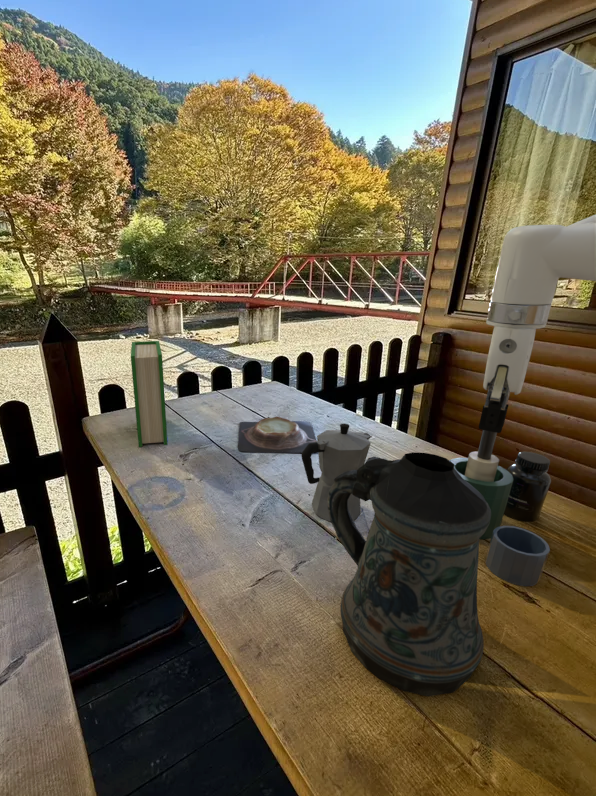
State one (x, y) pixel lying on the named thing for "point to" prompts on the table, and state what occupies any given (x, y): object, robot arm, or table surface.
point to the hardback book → (149, 392)
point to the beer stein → (413, 571)
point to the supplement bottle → (528, 486)
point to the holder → (517, 555)
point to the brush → (483, 459)
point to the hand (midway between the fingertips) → (490, 427)
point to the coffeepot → (335, 464)
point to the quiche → (275, 435)
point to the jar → (489, 492)
